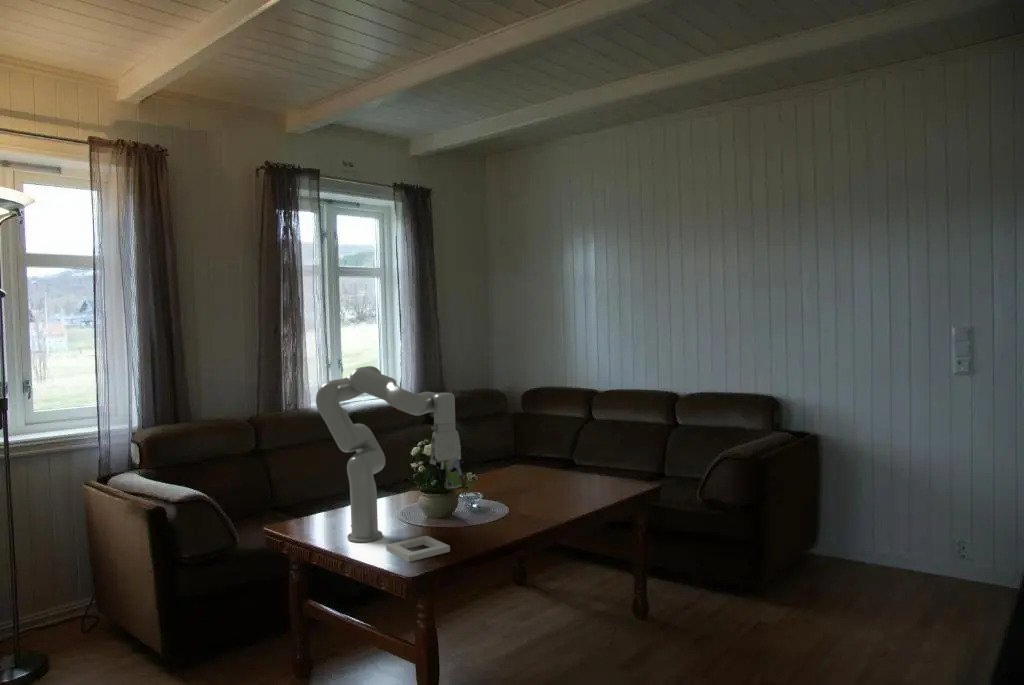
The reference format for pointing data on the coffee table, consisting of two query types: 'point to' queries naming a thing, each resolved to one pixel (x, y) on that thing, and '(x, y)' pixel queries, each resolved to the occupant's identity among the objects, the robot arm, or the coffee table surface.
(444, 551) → the can holder
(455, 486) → the beverage can
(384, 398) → the robot arm
